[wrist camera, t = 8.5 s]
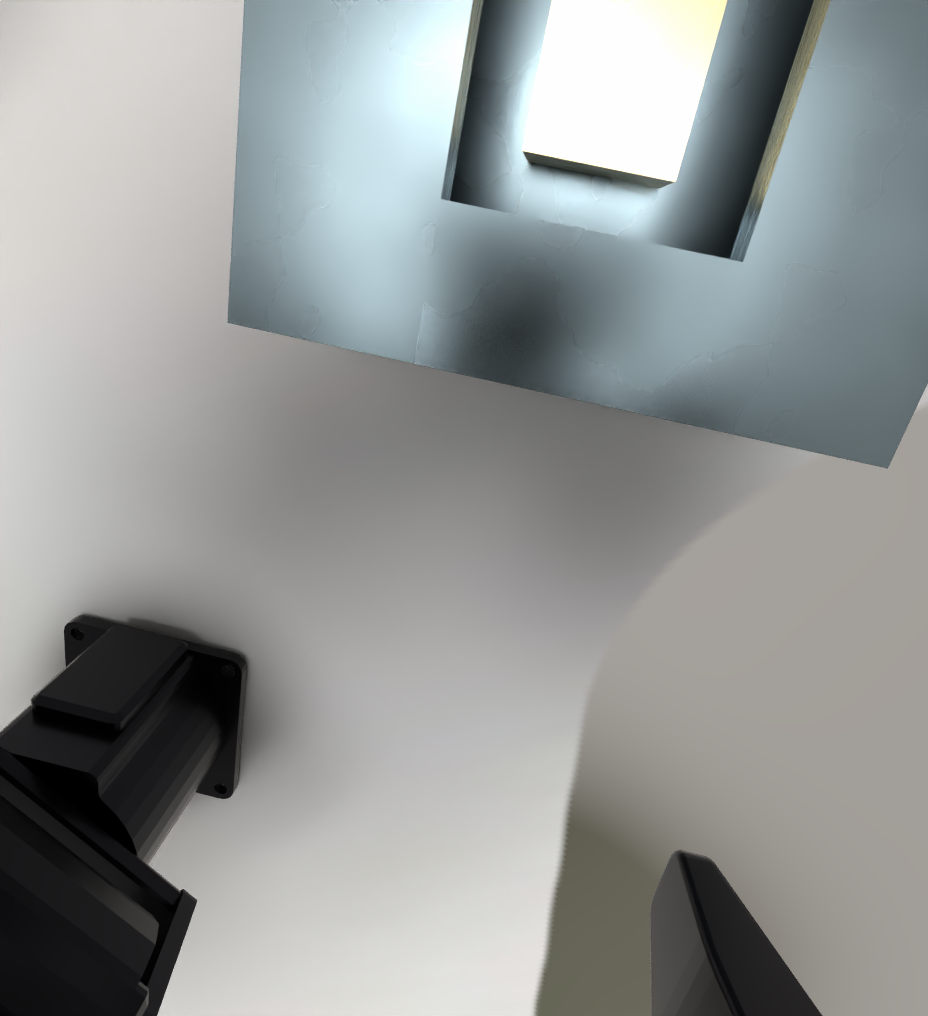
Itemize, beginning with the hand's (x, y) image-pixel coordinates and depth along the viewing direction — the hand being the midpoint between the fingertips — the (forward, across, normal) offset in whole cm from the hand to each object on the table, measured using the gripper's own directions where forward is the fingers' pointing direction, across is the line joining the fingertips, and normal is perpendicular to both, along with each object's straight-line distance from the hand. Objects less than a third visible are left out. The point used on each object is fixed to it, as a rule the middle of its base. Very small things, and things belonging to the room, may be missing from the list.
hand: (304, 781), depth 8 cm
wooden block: (+12, -2, -11) cm, 16 cm away
